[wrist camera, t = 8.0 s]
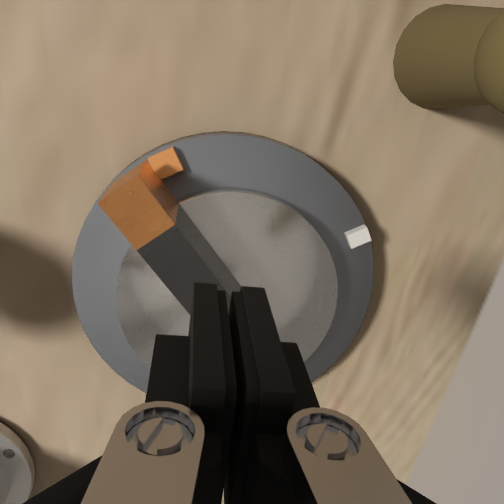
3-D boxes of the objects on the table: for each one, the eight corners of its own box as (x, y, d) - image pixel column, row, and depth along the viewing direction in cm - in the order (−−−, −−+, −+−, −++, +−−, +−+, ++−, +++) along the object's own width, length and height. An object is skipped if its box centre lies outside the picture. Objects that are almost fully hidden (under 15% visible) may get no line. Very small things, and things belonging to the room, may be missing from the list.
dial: (367, 311, 33) (397, 356, 28) (202, 411, 35) (202, 470, 30) (231, 97, 27) (238, 105, 22) (38, 231, 29) (4, 267, 24)
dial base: (160, 428, 38) (158, 453, 36) (19, 207, 30) (4, 219, 28) (396, 333, 37) (410, 352, 35) (310, 79, 29) (320, 81, 27)
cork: (494, 87, 31) (640, 100, 21) (406, 123, 31) (506, 153, 21) (477, -13, 28) (632, -54, 18) (382, 27, 29) (482, 8, 19)
